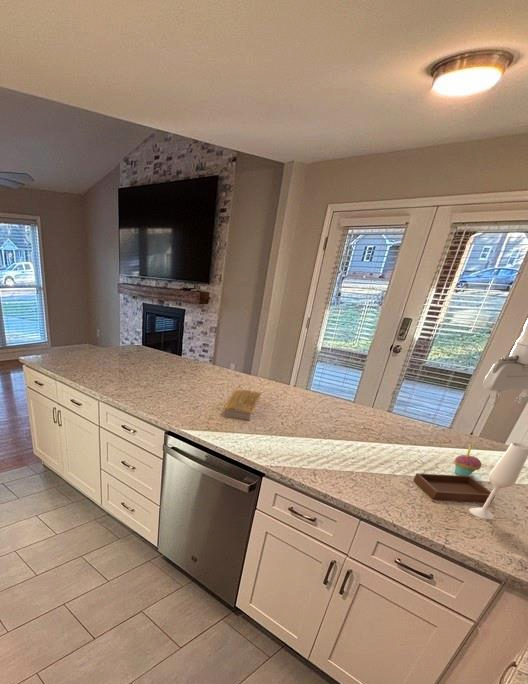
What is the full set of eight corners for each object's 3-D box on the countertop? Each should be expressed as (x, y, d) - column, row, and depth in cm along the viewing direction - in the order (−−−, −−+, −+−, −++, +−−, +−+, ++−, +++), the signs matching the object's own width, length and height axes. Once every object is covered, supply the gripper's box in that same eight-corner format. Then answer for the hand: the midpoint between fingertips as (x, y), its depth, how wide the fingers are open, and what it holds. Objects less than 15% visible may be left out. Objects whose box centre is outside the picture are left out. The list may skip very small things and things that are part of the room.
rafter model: (233, 395, 228) (235, 384, 224) (259, 399, 224) (262, 388, 221) (221, 416, 200) (223, 403, 197) (251, 421, 196) (253, 408, 193)
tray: (466, 483, 152) (470, 476, 150) (491, 502, 140) (495, 495, 139) (413, 480, 152) (416, 473, 150) (433, 499, 141) (436, 492, 139)
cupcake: (453, 476, 156) (469, 447, 149) (445, 466, 163) (460, 438, 156) (479, 480, 154) (495, 450, 148) (470, 469, 161) (485, 441, 155)
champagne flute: (495, 513, 135) (536, 445, 122) (492, 521, 131) (535, 452, 117) (471, 505, 138) (508, 439, 125) (467, 513, 134) (506, 445, 121)
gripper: (510, 359, 113) (485, 408, 120) (569, 357, 116) (542, 405, 124) (489, 353, 118) (467, 401, 125) (547, 352, 121) (522, 398, 129)
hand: (505, 403), depth 125 cm, fingers open, 8 cm apart
